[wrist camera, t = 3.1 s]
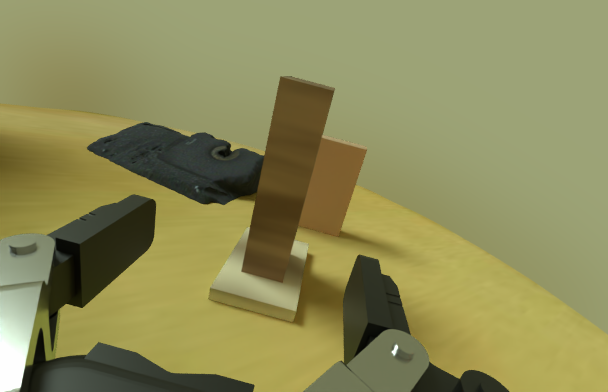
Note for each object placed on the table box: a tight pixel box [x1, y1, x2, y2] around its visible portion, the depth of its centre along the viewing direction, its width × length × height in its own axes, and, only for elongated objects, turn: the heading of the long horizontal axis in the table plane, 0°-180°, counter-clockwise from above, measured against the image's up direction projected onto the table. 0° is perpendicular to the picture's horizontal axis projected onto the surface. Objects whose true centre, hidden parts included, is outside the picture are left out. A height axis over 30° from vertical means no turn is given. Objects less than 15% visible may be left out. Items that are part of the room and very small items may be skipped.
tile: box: [298, 135, 367, 236], centre depth 33 cm, size 2×8×10 cm, turn 83°
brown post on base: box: [208, 76, 335, 322], centre depth 23 cm, size 9×6×15 cm, turn 173°
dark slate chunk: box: [87, 122, 265, 205], centre depth 42 cm, size 15×22×5 cm
